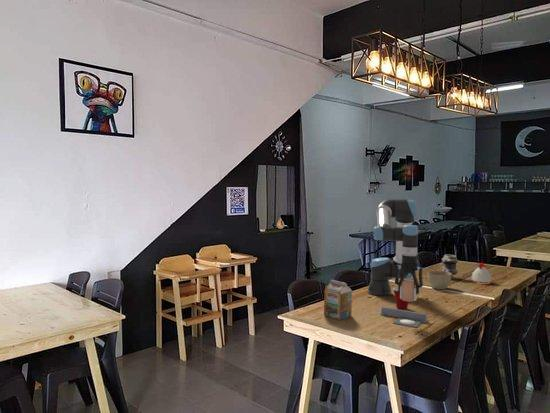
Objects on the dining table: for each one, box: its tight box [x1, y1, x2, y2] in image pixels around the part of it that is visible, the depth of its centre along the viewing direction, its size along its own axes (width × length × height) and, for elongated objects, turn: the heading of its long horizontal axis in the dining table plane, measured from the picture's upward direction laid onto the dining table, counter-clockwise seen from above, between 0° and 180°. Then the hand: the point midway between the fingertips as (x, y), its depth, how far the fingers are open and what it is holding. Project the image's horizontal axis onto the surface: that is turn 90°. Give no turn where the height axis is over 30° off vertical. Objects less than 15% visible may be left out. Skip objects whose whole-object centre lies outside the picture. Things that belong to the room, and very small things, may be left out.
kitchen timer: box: [470, 262, 492, 283], centre depth 320 cm, size 14×14×15 cm
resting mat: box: [392, 317, 423, 329], centre depth 222 cm, size 12×11×1 cm
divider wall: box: [379, 306, 428, 324], centre depth 230 cm, size 24×4×4 cm, turn 58°
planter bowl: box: [426, 270, 453, 290], centre depth 300 cm, size 16×16×11 cm
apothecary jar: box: [440, 254, 459, 280], centre depth 333 cm, size 12×12×18 cm
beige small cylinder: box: [402, 279, 416, 303], centre depth 221 cm, size 6×6×10 cm
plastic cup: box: [392, 286, 409, 311], centre depth 248 cm, size 11×11×12 cm
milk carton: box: [323, 279, 353, 321], centre depth 232 cm, size 11×11×19 cm
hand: (408, 299), depth 221 cm, fingers closed on beige small cylinder, 6 cm apart
